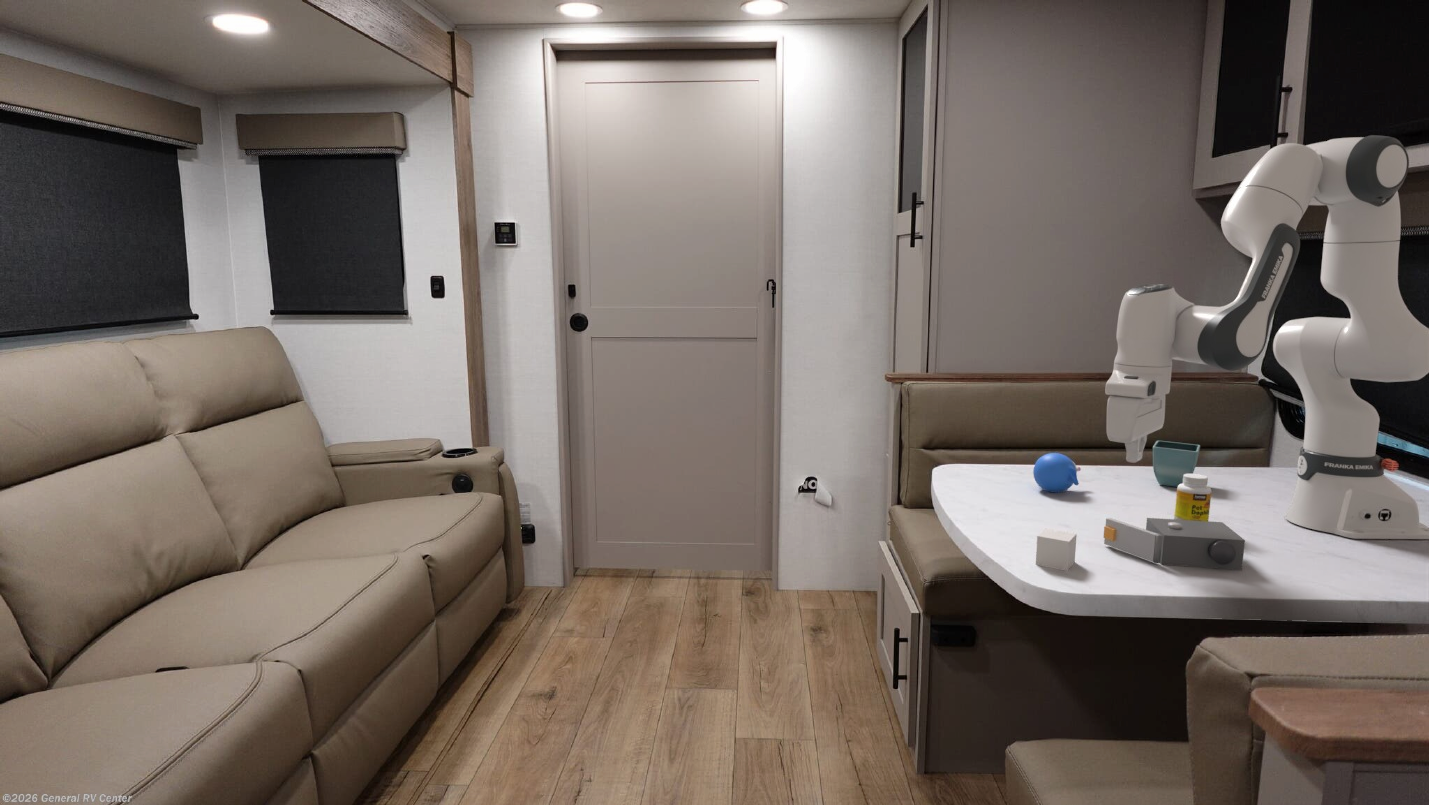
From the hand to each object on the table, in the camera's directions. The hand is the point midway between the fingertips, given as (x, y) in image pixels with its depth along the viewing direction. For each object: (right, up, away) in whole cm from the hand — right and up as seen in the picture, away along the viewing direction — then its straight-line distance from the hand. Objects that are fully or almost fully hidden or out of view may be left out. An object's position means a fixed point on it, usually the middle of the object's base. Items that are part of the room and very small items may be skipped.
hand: (1133, 461), depth 148 cm
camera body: (+8, -16, -3) cm, 18 cm away
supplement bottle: (+17, -14, +13) cm, 25 cm away
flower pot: (+31, -9, +45) cm, 55 cm away
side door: (-2, -16, -2) cm, 16 cm away
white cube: (-16, -17, -6) cm, 24 cm away
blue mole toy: (+3, -9, +40) cm, 41 cm away
